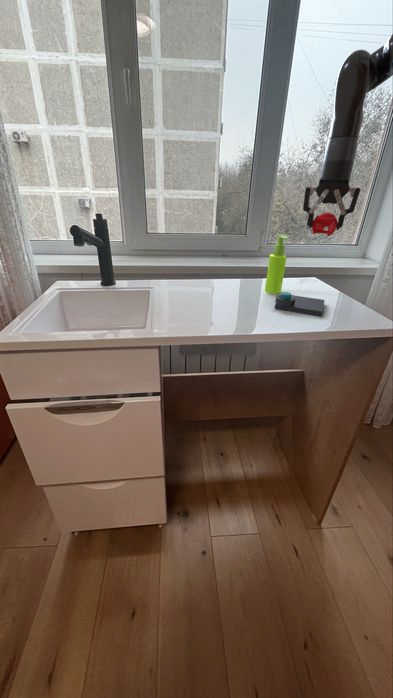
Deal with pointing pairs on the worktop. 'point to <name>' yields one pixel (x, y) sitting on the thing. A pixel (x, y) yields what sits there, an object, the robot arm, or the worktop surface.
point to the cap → (324, 224)
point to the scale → (300, 305)
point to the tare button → (286, 295)
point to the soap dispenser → (276, 267)
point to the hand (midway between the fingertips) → (323, 228)
